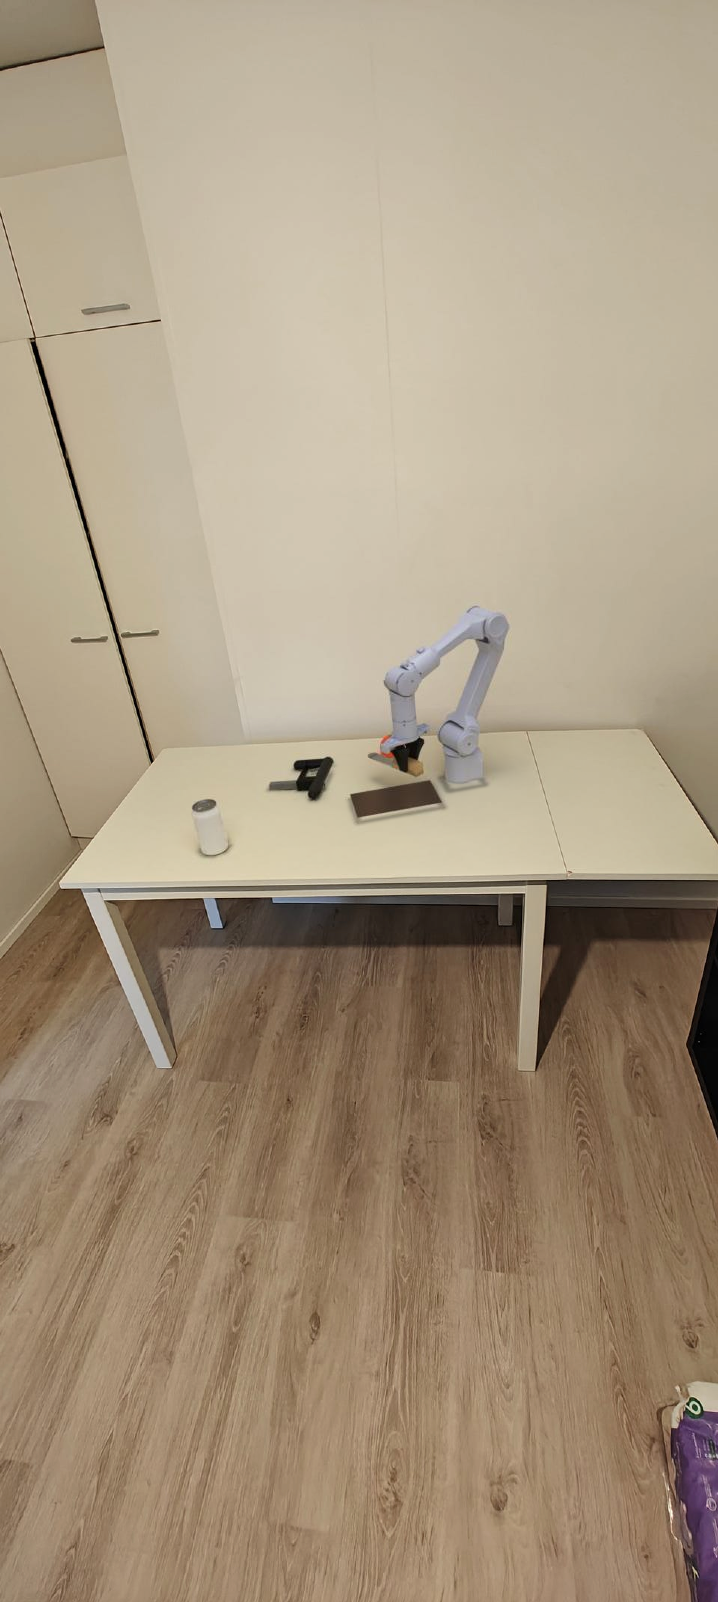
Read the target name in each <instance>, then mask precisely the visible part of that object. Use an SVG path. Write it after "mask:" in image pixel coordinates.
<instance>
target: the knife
mask: <svg viewBox="0 0 718 1602" xmlns="http://www.w3.org/2000/svg"><path fill="white" fill-rule="evenodd" d="M367 758H368V759H370V760H373V761H375V762H378V763H380V764H382V765H385V766H388V767H390V768H393V769H395V770H398V771H400V769H399V766H398V764H397V761H396V759H395V757H392V758H388V757H385V756H383V754H380V753H378V752H370V753H368V754H367ZM424 771H425V770H424V762H423V761H420V760H419V759H418V760H415V759H413V758H410V757H408V772H406V773H405V774H407V775H410V776H411V777H415V778H418V777H420V776H422V775H423V774H424V773H425V772H424Z"/></svg>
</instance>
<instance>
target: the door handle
mask: <svg viewBox="0 0 718 1602" xmlns="http://www.w3.org/2000/svg"><path fill="white" fill-rule="evenodd" d="M334 763H335V761H334V758H332V757H331V756H325V757H324V758H323V757H322V758H310V759H309V758H307V759H297V760H295V761H294V762H293V768H294V770H296V771H301V772H300V773H299V775H298V777H297V779H295V780H278V781H270V782H269V784H268V786H269V787H268V788H269V790H270V791H279V790H295V789H296V790H297V792H307V797H308V798H309V799H310V800H316V799H317V798H318V797H319V796H320V794H322V793H323V791H322V790H325V788H326V787H325V786H326V780H327V778H328V777H329V773H330V771H331V769H332V766H333V764H334ZM309 771H310V773H313V772H316V771H317V772H316V774H315V775H309V776H307V774H308V772H309Z"/></svg>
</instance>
